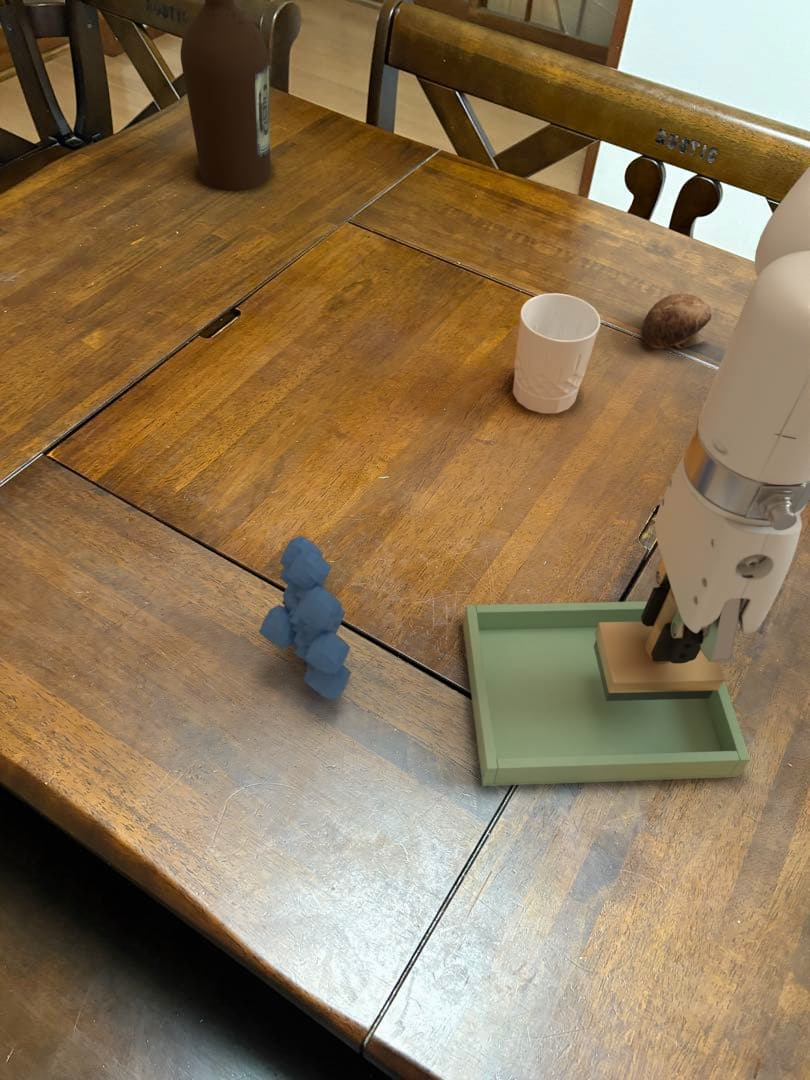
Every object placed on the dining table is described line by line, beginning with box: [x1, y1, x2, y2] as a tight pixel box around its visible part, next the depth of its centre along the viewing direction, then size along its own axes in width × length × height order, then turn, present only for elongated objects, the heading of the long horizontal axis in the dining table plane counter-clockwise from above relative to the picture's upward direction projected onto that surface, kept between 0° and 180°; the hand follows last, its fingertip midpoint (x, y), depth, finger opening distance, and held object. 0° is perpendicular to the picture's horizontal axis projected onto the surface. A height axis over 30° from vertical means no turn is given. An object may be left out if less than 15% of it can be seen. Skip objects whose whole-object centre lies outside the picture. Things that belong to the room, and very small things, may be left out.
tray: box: [462, 600, 751, 787], centre depth 72 cm, size 20×15×3 cm
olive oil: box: [180, 0, 272, 192], centre depth 114 cm, size 11×11×25 cm
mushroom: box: [641, 293, 712, 350], centre depth 103 cm, size 8×8×6 cm
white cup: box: [512, 292, 601, 414], centre depth 94 cm, size 8×8×10 cm
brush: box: [594, 588, 725, 701], centre depth 67 cm, size 8×5×10 cm, turn 93°
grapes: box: [259, 535, 352, 701], centre depth 70 cm, size 12×7×12 cm, turn 18°
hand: (667, 638), depth 67 cm, fingers closed on brush, 2 cm apart
